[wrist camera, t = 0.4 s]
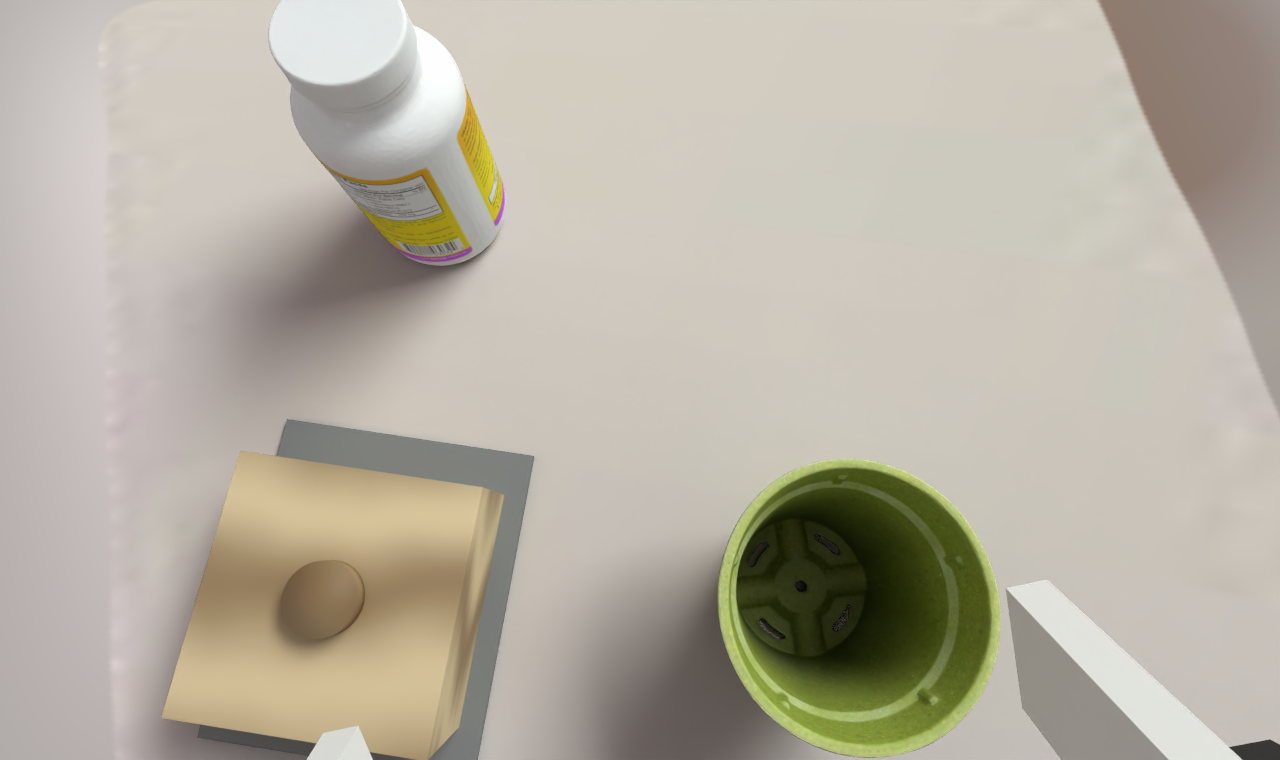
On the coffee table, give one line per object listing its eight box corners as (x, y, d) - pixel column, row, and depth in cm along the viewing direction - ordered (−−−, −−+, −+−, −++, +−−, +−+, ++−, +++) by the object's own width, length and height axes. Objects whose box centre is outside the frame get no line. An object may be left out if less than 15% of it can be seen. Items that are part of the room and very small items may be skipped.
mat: (473, 779, 28) (472, 782, 28) (201, 735, 28) (197, 737, 28) (534, 456, 31) (533, 455, 31) (290, 420, 32) (287, 419, 31)
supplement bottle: (452, 133, 36) (352, -87, 23) (535, 212, 34) (478, 24, 22) (355, 213, 34) (196, 25, 22) (438, 296, 33) (321, 149, 21)
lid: (459, 727, 28) (419, 768, 23) (233, 690, 28) (145, 723, 23) (504, 495, 31) (478, 485, 25) (296, 463, 31) (228, 447, 26)
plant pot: (654, 610, 30) (662, 637, 21) (766, 442, 32) (814, 406, 23) (830, 741, 28) (912, 825, 20) (935, 558, 30) (1051, 565, 22)
